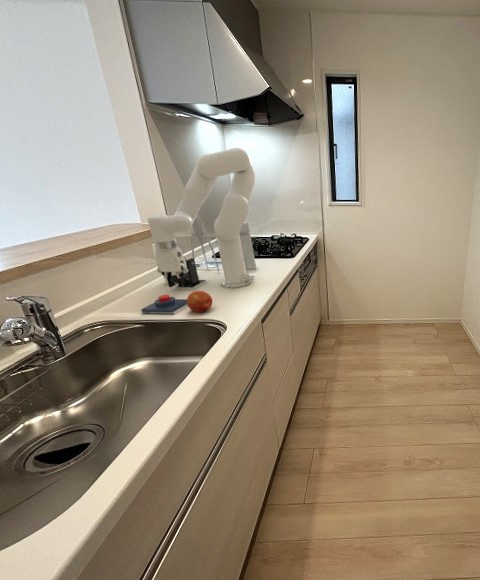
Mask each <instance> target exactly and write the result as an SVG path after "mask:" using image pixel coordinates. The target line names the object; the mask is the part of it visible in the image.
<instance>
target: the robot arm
mask: <svg viewBox="0 0 480 580" xmlns="http://www.w3.org/2000/svg"><path fill="white" fill-rule="evenodd" d="M229 174H233V177H232V180H231V182H230V186H229V189H228V191H227V193H226V195H225V197H224V199H223V202H222V206H221V209H220V211H219V214H218V217H216V218H215V220H214V221H213V231H214V234H215V238H216V243H217V248H218V252H219V257H220V262H221V266H222V270H223V274H224V275H223V276H224V281H223V282H222V283H221V284H222V285H223V286H226V287H228V288H231V289H232V288H239V287H244V286H247V285H250V284H251V283H252V282H255V280H256V276H255V275H250V272H247V270H246V267H245V262H244V257H243V251H242V245H241V240H240V235H239V233H240V230H241V228H242V226H243V223H244V222H246V219H247V216H248V212H249V209H250V208H249V207H250V205H249V200H250V197H251V195H252V192H253V190H254V187H255V181H256V172H255V169H254V166H253V164H252V163H251V158H250V155H249V154H248V152H247V151H246V150H244V149H242V148H241V147H233V148H229V149H225V150H221V151H216V152H213V153H208V154H203V155H201V156H200V157H198V159H197V161H196V164H195V166H194V168H193V171H192V173H191V175H190V176H189V179H188V181H187V183H186V184H185V187H184V190H183V195H182V198H181V200H180V202H179V204H178V206H177V208H176V211H175V212H174V214H171V215H168V214H153V215H149V216H148V217H147V224H148V227H149V231H150V233H151V237H152V241H153V244H154V248H155V249H154V256H155V262H156V266H157V271H156V272H157V273H159V274H161V276H162V277H163V276H165V278H166V279H167V281H168V283H167V284H168V287H169V288H173V287H175V286H178V287H177V288H181V287H183V286H184V285H185V282H184V279H183V277H184V275H185V274H186V273H187V272H189V270H188V269H187V265H186V262H185V259H186V258H185V257H184V253H183V254H182V252H183V250H182V249H181V248H180V247H179V243H178V242H177V240H176V237H175V233H178V234H179V233H181V234H182V233H187V232H189V231H190V230H191V229H193V226H192V225H193V222H194V220H195V218H196V216H198V214H199V212H200V210H201V208H202V206H204V204H205V203H206V201H207V200H208V198H209V197H210V194H211V192H212V189H213V188H214V186H215V184H216V182H217V180H218V178H219V177H222V176H226V175H229ZM180 249H181V250H182V251H181V250H180ZM184 258H185V259H184ZM182 269H183V271H182ZM172 272H175V273H176V276H177V278H178V279H177V283H172V282H171V281H170V278H171V276H172ZM179 273H180V274H179Z"/></svg>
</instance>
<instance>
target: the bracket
mask: <svg viewBox="0 0 480 580" xmlns="http://www.w3.org/2000/svg"><path fill="white" fill-rule="evenodd" d="M184 259H186V257H184ZM185 262H186V265H187V269H188V270H189V272H187V273H186V274H185V275H184V277H183V279H184V282H185V285H184V286H183V287H180V288H181V289H182V288H185V289H186V288H188V289H189V288H190V289H193V288H195V287H198V285H201V284H202V283H204V282H206V281H207V279H200V278H199V274H198V270H196V269H197V265H196V266H195V264H196V261H195V262H194V258H193V257H191V258H188V260H186V261H185ZM176 288H179V287H178V285H176Z"/></svg>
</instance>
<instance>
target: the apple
mask: <svg viewBox="0 0 480 580" xmlns="http://www.w3.org/2000/svg"><path fill="white" fill-rule="evenodd" d="M186 299H187V304H186V305H187V307H188V308H189V309H190V310H192V311H194V312H196V313H204V312H206V311H209V310H210V308H211V307H212V305H213V298H212V296H211V295H210V294H209V293H208V292H206V291H203V290H195V291H192V292H191V293H190V294H188V295H187V298H186Z"/></svg>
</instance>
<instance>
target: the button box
mask: <svg viewBox="0 0 480 580" xmlns="http://www.w3.org/2000/svg"><path fill="white" fill-rule="evenodd" d="M170 299H171V300H169V301H166V302H159V299H158V298H157V299H155V300H154V302H152V303H150V304H149V305H147V306H144V307H143V308H141V310H140V311H141V312H142V315H153V316H154V315H157V316H159V315H162V316H173V315H175V314H176V313H174V312H176V311H178V310H180V309H181V308H183V307H184V306H186V305H187V298H183V299H182V298H176V297H175V296H170Z"/></svg>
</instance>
